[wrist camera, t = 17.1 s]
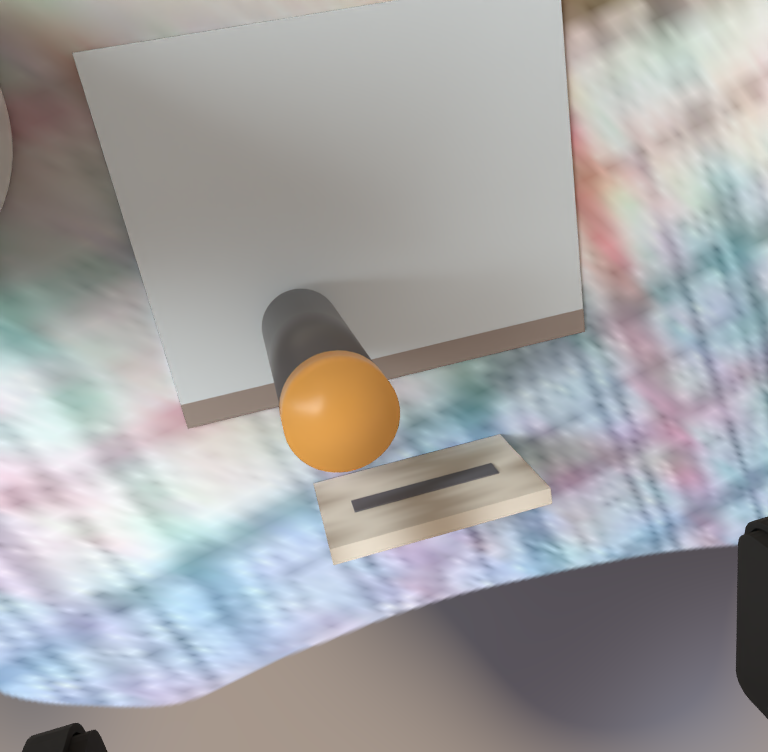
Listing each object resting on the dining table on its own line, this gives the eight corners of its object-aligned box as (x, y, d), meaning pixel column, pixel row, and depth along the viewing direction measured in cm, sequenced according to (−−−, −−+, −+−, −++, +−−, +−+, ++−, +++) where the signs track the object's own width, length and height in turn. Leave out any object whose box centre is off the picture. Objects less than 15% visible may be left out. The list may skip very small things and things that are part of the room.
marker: (326, 273, 30) (387, 349, 19) (343, 345, 32) (409, 453, 21) (249, 292, 30) (269, 380, 19) (270, 365, 31) (299, 486, 20)
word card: (499, 432, 35) (550, 486, 30) (501, 447, 36) (552, 503, 30) (313, 482, 34) (329, 548, 28) (316, 497, 34) (333, 564, 29)
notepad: (555, -25, 29) (559, -27, 28) (581, 329, 34) (584, 331, 34) (73, 53, 26) (72, 52, 26) (188, 425, 32) (188, 428, 31)
